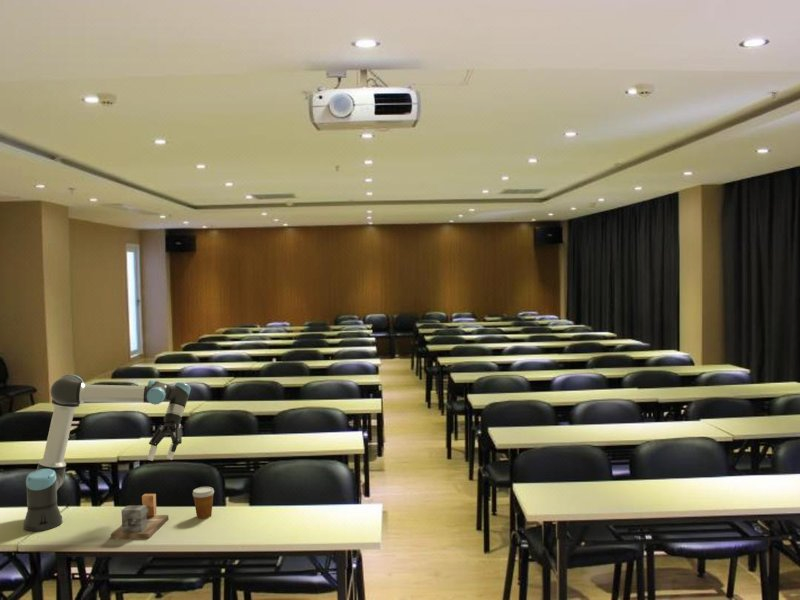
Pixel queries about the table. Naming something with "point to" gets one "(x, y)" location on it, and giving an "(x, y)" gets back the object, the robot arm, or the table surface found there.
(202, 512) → the disposable coffee cup
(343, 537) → the table surface
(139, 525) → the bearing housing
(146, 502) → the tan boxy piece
